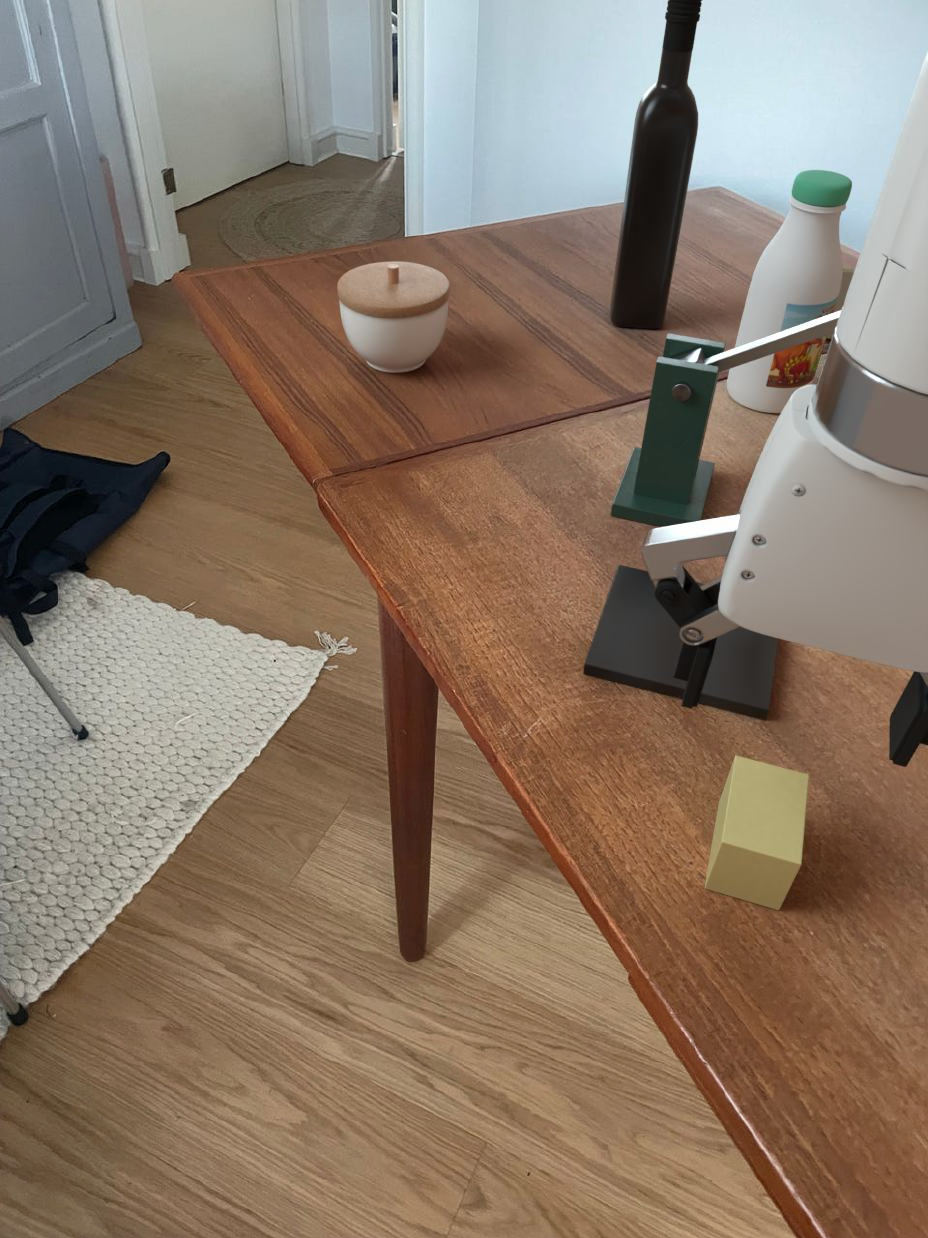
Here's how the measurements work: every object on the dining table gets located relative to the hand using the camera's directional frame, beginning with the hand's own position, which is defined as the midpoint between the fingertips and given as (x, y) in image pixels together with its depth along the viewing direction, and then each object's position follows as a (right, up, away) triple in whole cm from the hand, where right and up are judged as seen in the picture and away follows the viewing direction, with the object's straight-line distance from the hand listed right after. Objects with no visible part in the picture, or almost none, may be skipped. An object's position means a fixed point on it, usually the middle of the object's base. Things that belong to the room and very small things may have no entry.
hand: (792, 714), depth 45 cm
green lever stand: (+1, +15, +33) cm, 36 cm away
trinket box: (-23, +31, +49) cm, 62 cm away
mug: (+23, +37, +57) cm, 72 cm away
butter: (0, -9, +8) cm, 11 cm away
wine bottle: (+3, +37, +57) cm, 68 cm away
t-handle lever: (+7, +23, +23) cm, 33 cm away
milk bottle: (+13, +26, +46) cm, 54 cm away
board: (0, +3, +20) cm, 20 cm away
